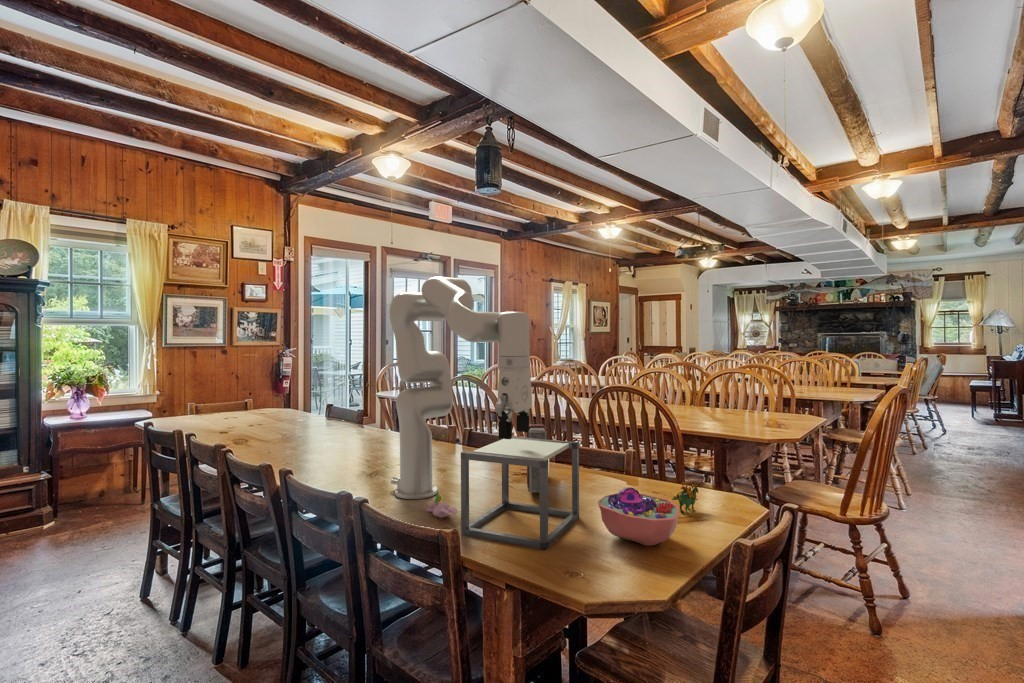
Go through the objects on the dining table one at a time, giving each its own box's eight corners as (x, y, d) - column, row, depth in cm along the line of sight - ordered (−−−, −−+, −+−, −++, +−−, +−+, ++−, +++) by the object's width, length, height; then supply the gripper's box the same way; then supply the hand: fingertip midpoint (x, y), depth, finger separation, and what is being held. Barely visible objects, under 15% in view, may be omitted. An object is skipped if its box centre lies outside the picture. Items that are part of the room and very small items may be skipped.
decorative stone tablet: (549, 428, 152) (545, 421, 182) (526, 428, 152) (526, 421, 182) (549, 496, 151) (545, 478, 181) (527, 496, 151) (526, 477, 181)
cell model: (635, 564, 108) (635, 509, 108) (584, 531, 127) (584, 484, 126) (699, 550, 115) (699, 498, 115) (641, 521, 133) (641, 476, 133)
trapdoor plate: (472, 455, 126) (472, 450, 126) (506, 441, 143) (506, 437, 143) (542, 463, 118) (542, 458, 118) (569, 447, 135) (569, 442, 135)
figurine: (703, 509, 142) (703, 479, 142) (676, 519, 134) (676, 487, 134) (693, 506, 144) (693, 476, 144) (666, 516, 137) (666, 484, 137)
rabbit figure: (419, 516, 142) (442, 524, 129) (418, 493, 142) (440, 499, 130) (441, 512, 145) (465, 519, 132) (439, 490, 146) (463, 494, 133)
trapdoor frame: (461, 534, 125) (460, 452, 124) (504, 506, 145) (503, 435, 145) (545, 550, 115) (545, 461, 115) (579, 517, 136) (578, 442, 136)
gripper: (512, 365, 116) (512, 443, 117) (542, 362, 132) (542, 430, 132) (482, 365, 120) (483, 440, 120) (515, 361, 135) (515, 428, 135)
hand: (514, 435), depth 126 cm, fingers open, 9 cm apart
